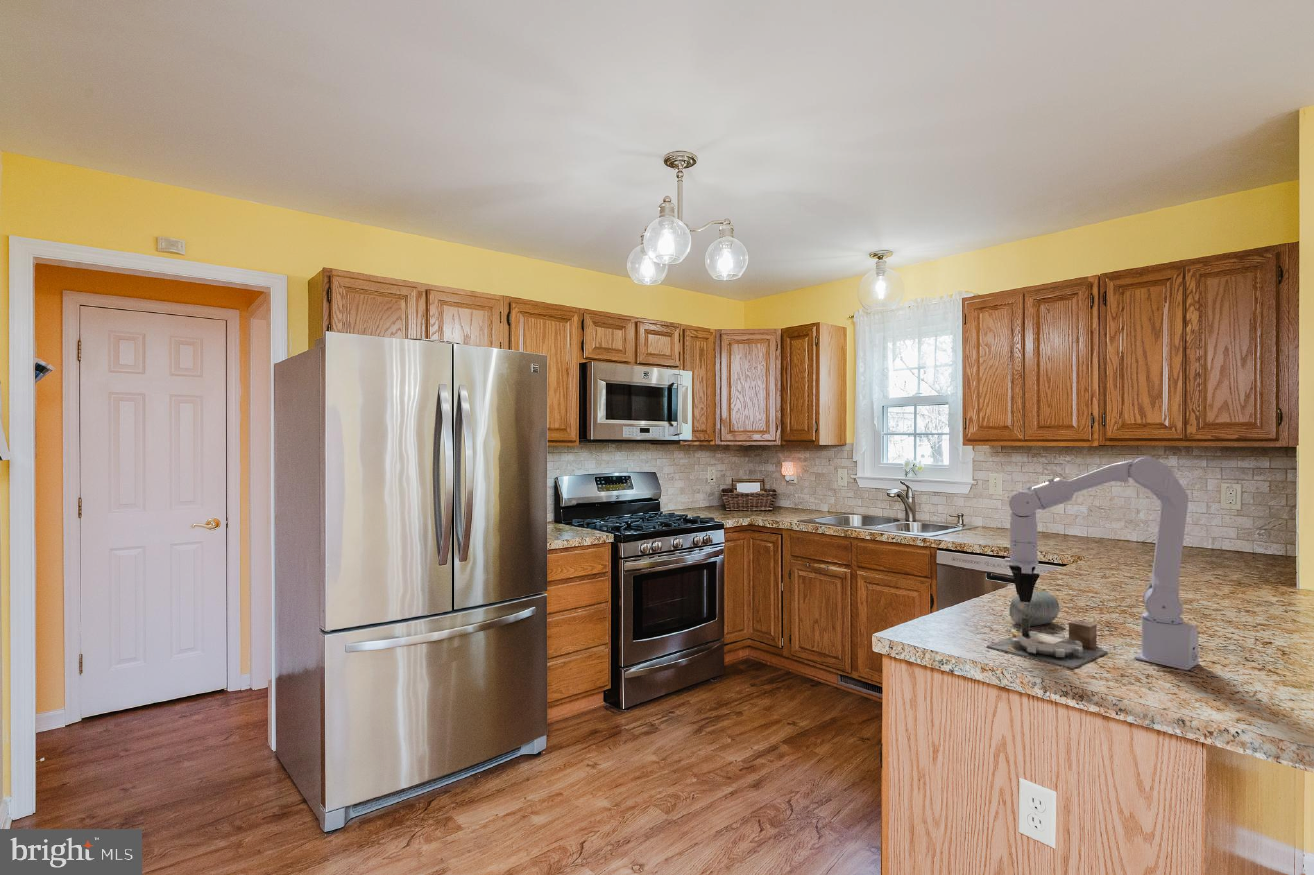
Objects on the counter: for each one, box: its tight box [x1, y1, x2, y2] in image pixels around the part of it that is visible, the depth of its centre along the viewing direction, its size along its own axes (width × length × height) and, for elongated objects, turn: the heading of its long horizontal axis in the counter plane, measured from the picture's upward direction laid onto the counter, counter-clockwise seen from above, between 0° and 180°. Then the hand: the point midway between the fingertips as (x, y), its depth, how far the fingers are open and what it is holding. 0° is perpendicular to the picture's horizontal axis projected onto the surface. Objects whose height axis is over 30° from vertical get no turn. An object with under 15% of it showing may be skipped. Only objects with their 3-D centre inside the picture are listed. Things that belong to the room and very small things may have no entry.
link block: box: [1068, 619, 1098, 648], centre depth 154 cm, size 4×4×5 cm
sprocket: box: [1011, 617, 1083, 657], centre depth 150 cm, size 14×14×6 cm
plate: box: [986, 636, 1109, 670], centre depth 150 cm, size 18×18×1 cm
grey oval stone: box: [1009, 590, 1060, 627], centre depth 172 cm, size 14×10×10 cm
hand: (1023, 598), depth 158 cm, fingers open, 7 cm apart
